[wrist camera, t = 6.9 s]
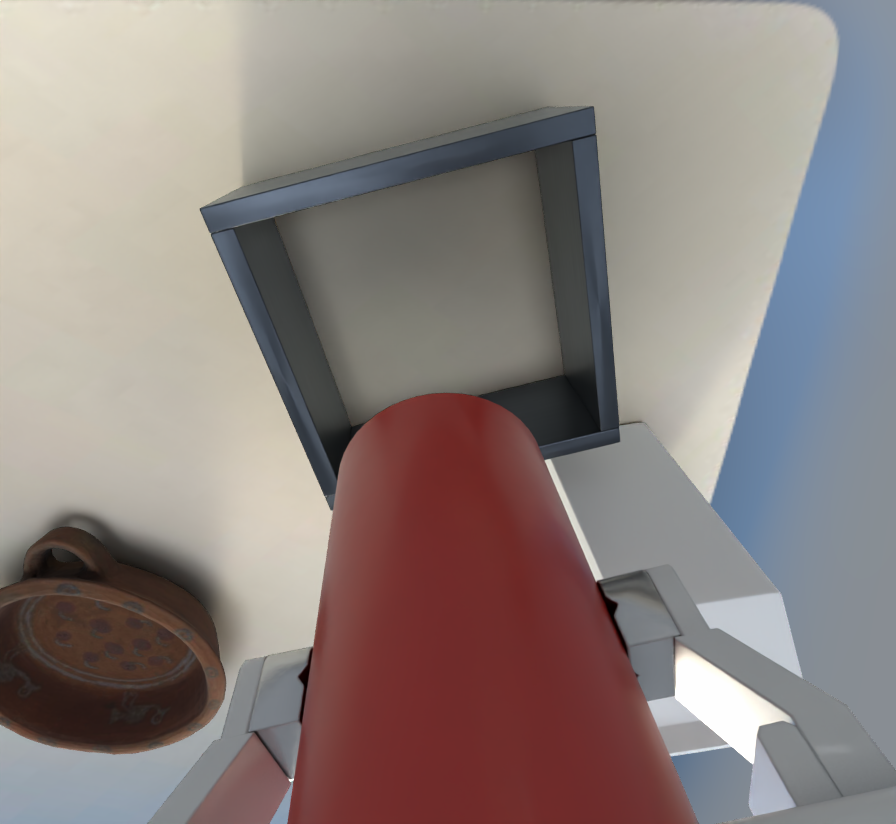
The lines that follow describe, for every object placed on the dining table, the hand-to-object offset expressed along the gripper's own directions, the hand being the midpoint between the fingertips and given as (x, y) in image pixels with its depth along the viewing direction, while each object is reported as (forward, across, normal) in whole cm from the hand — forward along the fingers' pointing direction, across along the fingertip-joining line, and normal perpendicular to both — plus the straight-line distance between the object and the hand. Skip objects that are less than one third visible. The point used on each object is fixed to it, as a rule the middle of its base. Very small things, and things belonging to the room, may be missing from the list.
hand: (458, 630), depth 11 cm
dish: (+23, +28, +19) cm, 41 cm away
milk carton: (+23, -9, +15) cm, 29 cm away
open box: (+23, -1, 0) cm, 23 cm away
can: (+5, 0, 0) cm, 5 cm away
